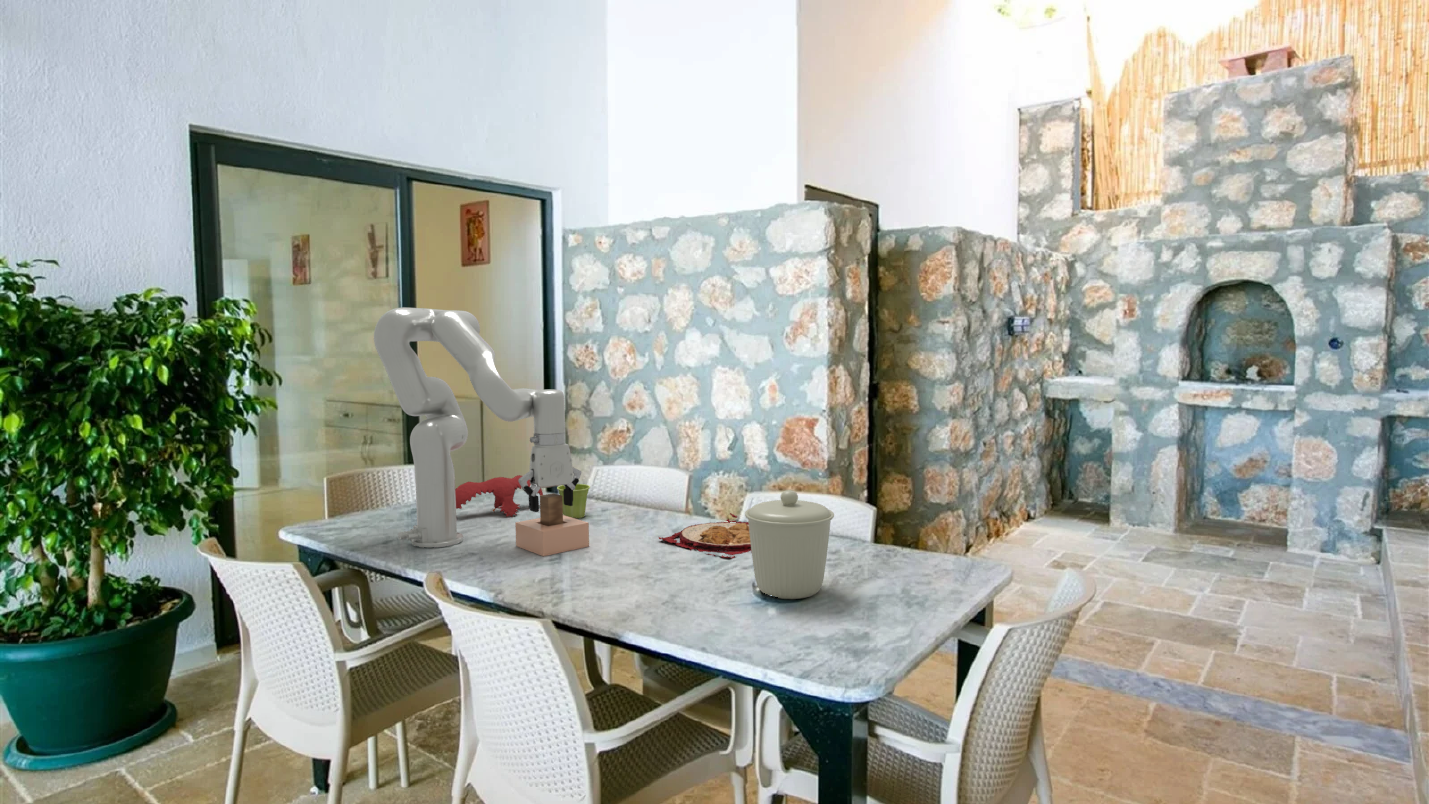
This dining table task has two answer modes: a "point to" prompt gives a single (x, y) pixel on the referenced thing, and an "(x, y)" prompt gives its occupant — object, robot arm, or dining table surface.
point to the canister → (789, 545)
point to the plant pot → (576, 501)
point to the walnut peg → (551, 509)
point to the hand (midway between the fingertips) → (551, 508)
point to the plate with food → (715, 537)
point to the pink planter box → (552, 536)
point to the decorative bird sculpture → (499, 488)
